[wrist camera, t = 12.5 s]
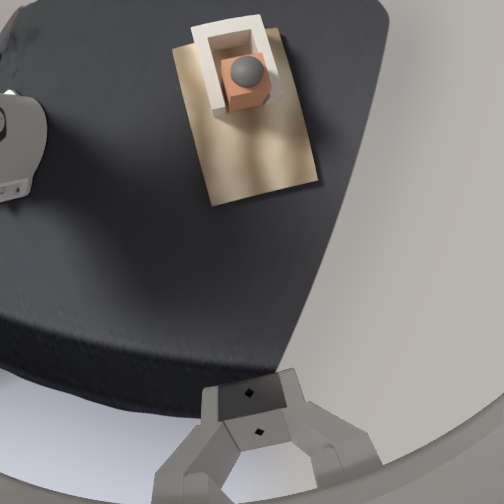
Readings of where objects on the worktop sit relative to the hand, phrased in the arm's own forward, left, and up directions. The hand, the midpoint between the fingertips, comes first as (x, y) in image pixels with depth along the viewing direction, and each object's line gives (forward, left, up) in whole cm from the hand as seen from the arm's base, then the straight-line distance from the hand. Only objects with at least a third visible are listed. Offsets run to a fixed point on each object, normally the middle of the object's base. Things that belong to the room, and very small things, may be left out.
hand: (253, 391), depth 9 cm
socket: (+5, +18, -30) cm, 35 cm away
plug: (+5, +15, -29) cm, 33 cm away
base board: (+5, +13, -31) cm, 34 cm away
